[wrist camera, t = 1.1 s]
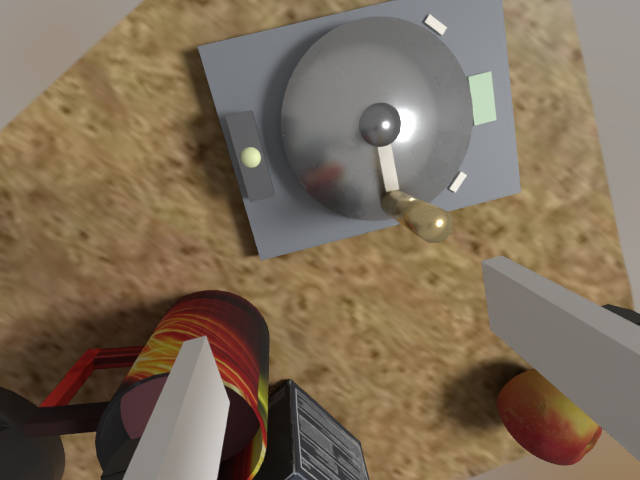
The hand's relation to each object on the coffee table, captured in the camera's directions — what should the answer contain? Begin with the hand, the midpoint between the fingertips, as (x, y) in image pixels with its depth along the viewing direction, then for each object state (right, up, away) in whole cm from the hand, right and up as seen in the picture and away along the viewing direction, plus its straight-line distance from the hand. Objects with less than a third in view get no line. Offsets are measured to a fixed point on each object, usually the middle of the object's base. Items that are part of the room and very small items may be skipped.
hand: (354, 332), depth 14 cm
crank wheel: (+3, +12, +16) cm, 20 cm away
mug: (-12, -7, +21) cm, 25 cm away
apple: (+19, -11, +26) cm, 34 cm away
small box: (-3, -15, +24) cm, 29 cm away
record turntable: (+3, +12, +18) cm, 21 cm away
